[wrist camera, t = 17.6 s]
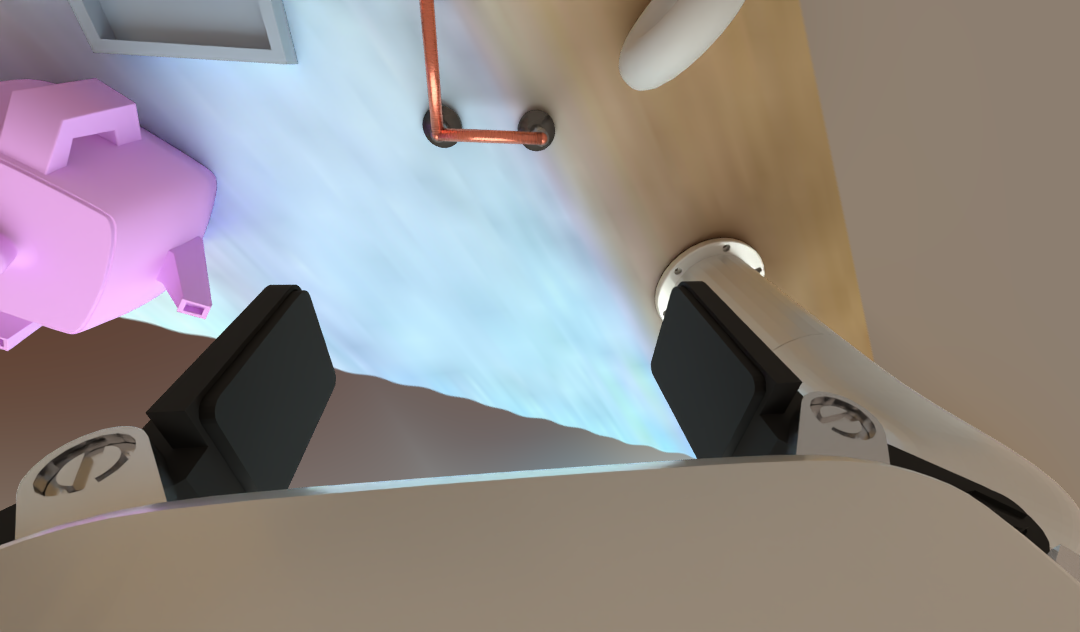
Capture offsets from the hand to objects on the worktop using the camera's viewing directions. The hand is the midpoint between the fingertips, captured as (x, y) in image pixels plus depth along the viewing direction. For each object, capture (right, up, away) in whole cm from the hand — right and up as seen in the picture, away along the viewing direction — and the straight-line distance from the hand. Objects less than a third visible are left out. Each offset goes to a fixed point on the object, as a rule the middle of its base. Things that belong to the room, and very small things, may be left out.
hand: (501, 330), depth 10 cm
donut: (+10, +24, +20) cm, 33 cm away
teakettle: (-34, +10, +23) cm, 43 cm away
